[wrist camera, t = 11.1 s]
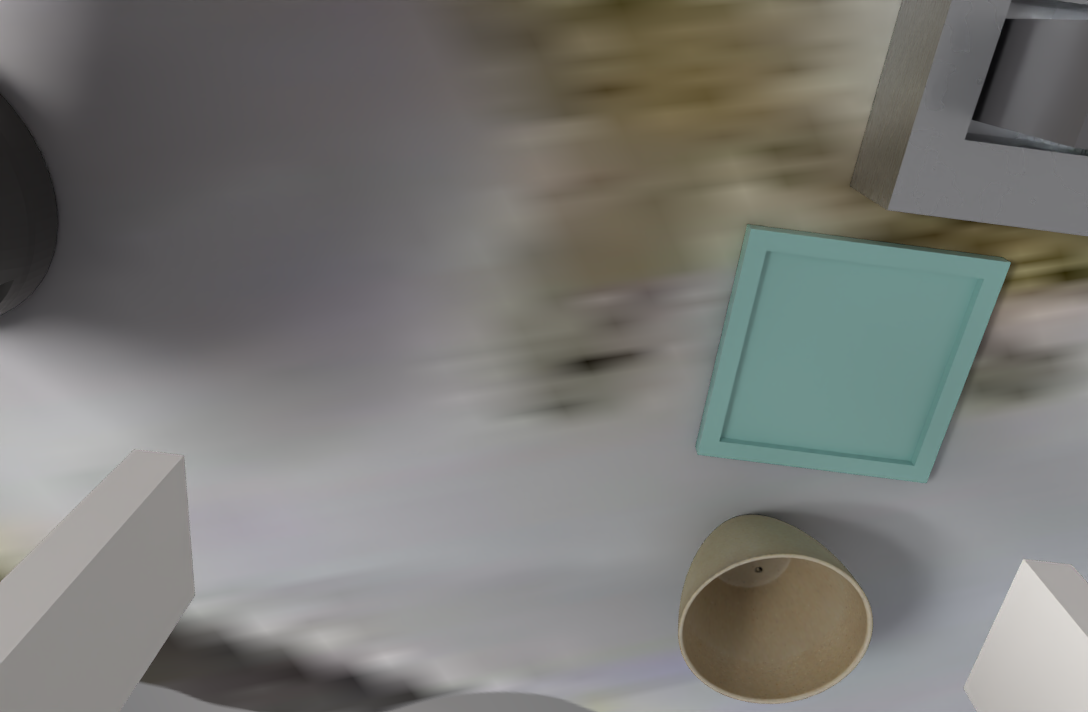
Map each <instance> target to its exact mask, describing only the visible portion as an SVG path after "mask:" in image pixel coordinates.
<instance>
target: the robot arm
mask: <svg viewBox="0 0 1088 712" xmlns="http://www.w3.org/2000/svg"><path fill="white" fill-rule="evenodd" d="M56 238H57V208H56V201H55V195H54V190H53V186H52V182H51V179H50V176H49V173H48V170H47V167H46V165H45V162H44V160H43V157H42V155H41V153H40V151H39V149H38V147H37V145H36V143H35V141H34V140H33V138H32V136H31V134H30V133H29V131H28V130H27V128H26V126H25V125H24V123H23V122H22V121H21V119H20V118H19V116H18V115H17V114H16V112H15V111H14V110H13V109H12V107H11V106H10V105H9V104H8V102H7V101H6V100H5V99H4V98H3V97H2V96H1V95H0V315H1V314H3V313H5V312H7V311H9V310H11V309H13V308H14V307H16V306H17V305H19V304H20V303H21V302H23V301H24V300H25V299H26V298H27V297H28V296H29V295H30V294H31V293H32V292H33V291H34V290H35V289H36V288H37V286H38V285H39V283H40V282H41V281H42V279H43V277H44V276H45V274H46V272H47V270H48V268H49V265H50V263H51V260H52V257H53V253H54V249H55V245H56ZM194 596H195V587H194V574H193V562H192V549H191V536H190V524H189V511H188V498H187V486H186V473H185V460H184V455H178V454H170V453H162V452H154V451H146V450H138V449H134V450H133V451H132V452H131V453H130V454H129V455H128V456H127V457H126V458H125V459H124V460H123V461H122V462H121V463H120V464H119V465H118V466H117V467H116V468H115V469H114V470H113V471H112V472H111V473H110V474H109V475H108V476H107V477H106V478H105V479H104V480H103V481H102V482H101V483H100V484H99V485H98V486H97V487H96V488H95V489H94V490H92V491H91V492H90V493H89V494H88V495H87V496H86V497H85V498H84V499H83V500H82V501H81V502H80V503H79V504H78V505H77V506H76V507H75V508H74V509H73V510H72V511H71V512H70V513H69V514H68V515H67V516H66V517H65V518H64V519H63V520H62V521H61V522H60V523H59V524H58V525H57V526H56V527H55V528H54V529H53V530H52V531H51V532H50V533H49V534H48V535H47V536H46V537H45V538H44V539H43V540H42V541H41V542H40V543H39V544H38V545H37V546H36V547H35V548H34V549H33V550H32V551H31V552H30V553H29V554H28V555H27V556H26V557H25V558H24V559H23V560H22V561H21V562H20V563H19V564H18V565H17V566H16V567H15V568H14V569H13V570H12V571H11V572H10V573H9V574H8V575H7V576H6V577H5V578H4V579H3V580H2V581H1V582H0V712H120V710H121V709H122V707H123V706H124V704H125V702H126V701H127V699H128V698H129V696H130V695H131V693H132V692H133V690H134V689H135V687H136V686H137V684H138V682H139V681H140V679H141V678H142V676H143V675H144V673H145V672H146V670H147V669H148V667H149V666H150V664H151V662H152V661H153V659H154V658H155V656H156V655H157V653H158V652H159V650H160V649H161V647H162V646H163V644H164V643H165V641H166V639H167V638H168V636H169V635H170V633H171V632H172V630H173V629H174V627H175V626H176V624H177V623H178V621H179V619H180V618H181V616H182V615H183V613H184V612H185V610H186V609H187V607H188V606H189V604H190V603H191V601H192V599H193V598H194ZM963 688H964V690H965V692H966V693H967V695H968V697H969V699H970V700H971V702H972V704H973V706H974V707H975V709H976V711H977V712H1088V583H1087V581H1086V580H1085V579H1084V578H1083V577H1082V576H1081V575H1080V574H1079V573H1078V571H1077V570H1076V569H1075V568H1074V567H1073V566H1072V565H1070V564H1062V563H1053V562H1045V561H1037V560H1029V559H1023V561H1022V563H1021V565H1020V567H1019V569H1018V572H1017V574H1016V576H1015V578H1014V580H1013V582H1012V584H1011V587H1010V589H1009V591H1008V593H1007V595H1006V597H1005V599H1004V602H1003V604H1002V606H1001V608H1000V610H999V612H998V614H997V617H996V619H995V621H994V623H993V625H992V627H991V629H990V632H989V634H988V636H987V638H986V640H985V642H984V644H983V647H982V649H981V651H980V653H979V655H978V657H977V660H976V662H975V664H974V666H973V668H972V670H971V672H970V675H969V677H968V679H967V681H966V683H965V685H964V687H963Z"/></svg>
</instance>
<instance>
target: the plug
mask: <svg viewBox="0 0 1088 712" xmlns="http://www.w3.org/2000/svg"><path fill="white" fill-rule="evenodd" d="M971 120H974V121H978V122H981V123H985V124H989V125H992V126H996V127H1000V128H1003V129H1007V130H1011V131H1015V132H1018V133H1022V134H1026V135H1029V136H1033V137H1037V138H1040V139H1044V140H1048V141H1051V142H1055V143H1059V144H1062V145H1066V146H1070V147H1073V148H1080V149H1088V20H1069V19H1005V21H1004V24H1003V27H1002V30H1001V33H1000V36H999V39H998V42H997V45H996V48H995V51H994V54H993V57H992V60H991V63H990V66H989V69H988V72H987V75H986V78H985V81H984V84H983V87H982V90H981V92H980V95H979V98H978V101H977V104H976V107H975V110H974V113H973V116H972V119H971Z"/></svg>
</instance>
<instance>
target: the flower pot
mask: <svg viewBox="0 0 1088 712" xmlns="http://www.w3.org/2000/svg"><path fill="white" fill-rule="evenodd" d="M759 567H761V568H762V569H759ZM872 630H873V616H872V611H871V607H870V604H869V601H868V599H867V597H866V595H865V593H864V592H863V590H862V588H861V587H860V586H859V584H858V583H857V581H856V580H855V579H854V577H853V576H852V575H851V573H850V572H849V571H848V570H847V569H846V568H845V566H844V565H843V564H842V563H841V562H840V561H839V560H838V559H837V558H836V557H835V556H834V555H833V554H832V553H831V552H830V551H829V550H827V549H826V548H825V547H824V546H823V545H822V544H820V543H819V542H818V541H816V540H815V539H814V538H812V537H811V536H809V535H808V534H806V533H805V532H803V531H801V530H799V529H798V528H796V527H794V526H792V525H790V524H788V523H785V522H783V521H780V520H778V519H774V518H771V517H767V516H762V515H742V516H737V517H734V518H731V519H729V520H727V521H725V522H724V523H722V524H721V525H720V526H718V527H717V528H716V529H715V530H714V531H713V532H712V533H711V534H710V535H709V536H708V537H707V539H706V540H705V541H704V543H703V544H702V545H701V547H700V548H699V550H698V552H697V554H696V556H695V557H694V559H693V562H692V564H691V566H690V568H689V571H688V574H687V576H686V580H685V583H684V587H683V591H682V595H681V601H680V608H679V620H678V639H679V645H680V650H681V653H682V655H683V658H684V660H685V662H686V664H687V665H688V667H689V668H690V670H691V671H692V672H693V673H694V675H695V676H696V677H697V678H698V679H700V680H701V681H702V682H703V683H704V684H705V685H707V686H708V687H710V688H712V689H713V690H715V691H717V692H719V693H721V694H723V695H725V696H728V697H731V698H734V699H737V700H741V701H746V702H752V703H761V704H779V703H788V702H793V701H797V700H802V699H806V698H808V697H811V696H814V695H816V694H819V693H821V692H823V691H825V690H827V689H829V688H830V687H832V686H834V685H835V684H837V683H838V682H840V681H841V680H842V679H844V678H845V677H846V676H847V675H848V674H849V673H850V672H851V671H852V670H853V669H854V668H855V667H856V666H857V665H858V663H859V662H860V660H861V659H862V658H863V656H864V654H865V652H866V650H867V648H868V646H869V643H870V640H871V636H872Z"/></svg>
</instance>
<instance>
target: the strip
mask: <svg viewBox="0 0 1088 712" xmlns="http://www.w3.org/2000/svg"><path fill="white" fill-rule="evenodd" d="M1005 19H1069V20H1088V0H902V4H901V7H900V11H899V14H898V18H897V21H896V25H895V28H894V32H893V35H892V39H891V43H890V46H889V50H888V53H887V57H886V60H885V64H884V67H883V71H882V74H881V78H880V81H879V85H878V88H877V92H876V96H875V99H874V103H873V106H872V110H871V113H870V117H869V120H868V124H867V127H866V131H865V134H864V138H863V141H862V145H861V149H860V152H859V156H858V159H857V163H856V166H855V170H854V173H853V177H852V180H851V184H850V187H852V188H853V189H855V190H857V191H858V192H860V193H861V194H863V195H864V196H866V197H868V198H869V199H871V200H872V201H874V202H875V203H877V204H879V205H880V206H882V207H883V208H885V209H887V210H891V211H898V212H906V213H914V214H921V215H929V216H937V217H944V218H952V219H960V220H967V221H975V222H983V223H990V224H998V225H1006V226H1013V227H1021V228H1029V229H1036V230H1044V231H1052V232H1059V233H1067V234H1075V235H1082V236H1088V149H1080V148H1073V147H1070V146H1066V145H1062V144H1059V143H1055V142H1051V141H1048V140H1044V139H1040V138H1037V137H1033V136H1029V135H1026V134H1022V133H1018V132H1015V131H1011V130H1007V129H1003V128H1000V127H996V126H992V125H989V124H985V123H981V122H978V121H974V120H971V119H972V116H973V113H974V110H975V107H976V104H977V101H978V98H979V95H980V92H981V90H982V87H983V84H984V81H985V78H986V75H987V72H988V69H989V66H990V63H991V60H992V57H993V54H994V51H995V48H996V45H997V42H998V39H999V36H1000V33H1001V30H1002V27H1003V24H1004V21H1005Z"/></svg>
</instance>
